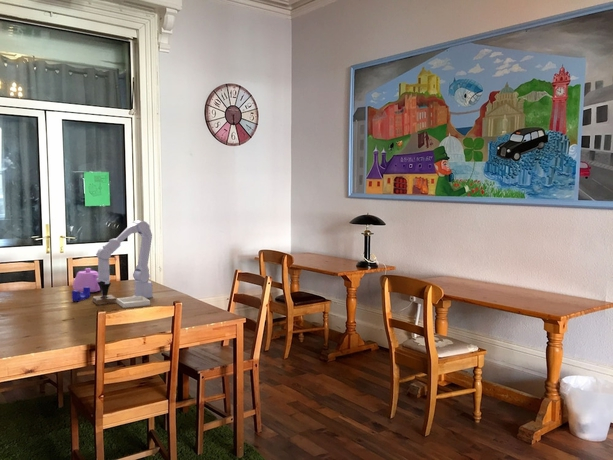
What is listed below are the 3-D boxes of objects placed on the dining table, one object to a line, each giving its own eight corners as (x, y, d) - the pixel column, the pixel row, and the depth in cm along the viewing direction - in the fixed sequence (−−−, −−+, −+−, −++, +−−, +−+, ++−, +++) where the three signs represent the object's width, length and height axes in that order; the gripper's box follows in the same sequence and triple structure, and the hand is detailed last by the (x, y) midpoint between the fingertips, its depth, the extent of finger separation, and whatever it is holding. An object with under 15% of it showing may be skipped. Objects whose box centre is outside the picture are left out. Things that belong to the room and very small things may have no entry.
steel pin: (106, 300, 296) (106, 284, 295) (107, 301, 294) (107, 285, 293) (101, 300, 295) (101, 284, 294) (102, 301, 293) (102, 285, 292)
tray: (142, 300, 300) (142, 295, 300) (150, 305, 289) (150, 300, 288) (116, 302, 292) (116, 298, 292) (123, 308, 281) (123, 303, 280)
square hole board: (111, 299, 301) (111, 294, 301) (116, 302, 293) (116, 298, 293) (92, 301, 296) (92, 296, 296) (96, 304, 288) (96, 300, 287)
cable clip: (82, 297, 306) (82, 286, 306) (90, 297, 305) (89, 287, 305) (69, 301, 294) (69, 290, 294) (77, 302, 294) (77, 291, 293)
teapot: (118, 290, 327) (118, 267, 326) (87, 295, 309) (86, 272, 308) (95, 285, 339) (95, 264, 338) (64, 291, 321) (63, 268, 319)
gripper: (93, 269, 297) (93, 293, 298) (99, 273, 285) (99, 298, 286) (106, 268, 301) (106, 292, 302) (113, 272, 289) (113, 296, 290)
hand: (104, 295), depth 294 cm, fingers closed on steel pin, 3 cm apart
